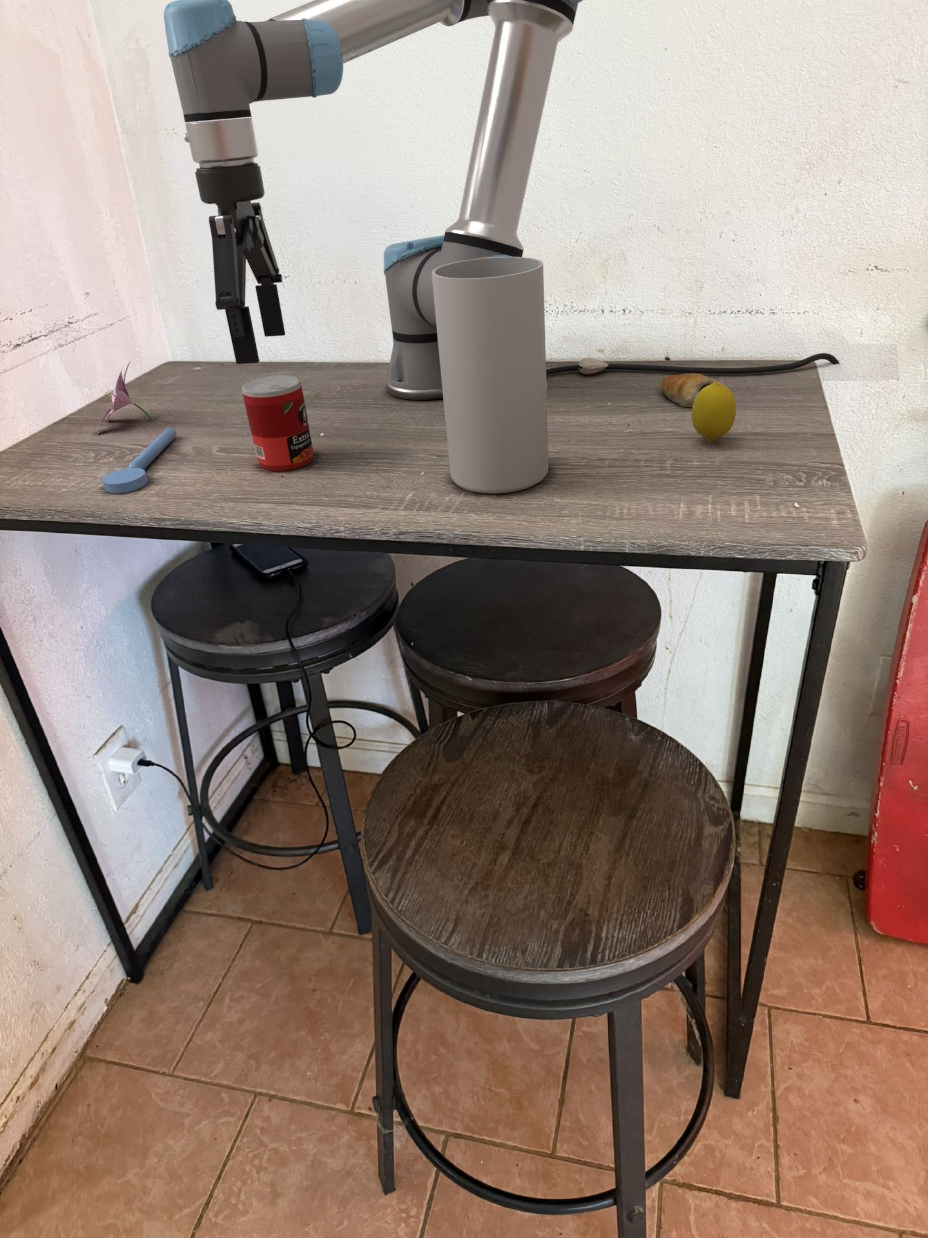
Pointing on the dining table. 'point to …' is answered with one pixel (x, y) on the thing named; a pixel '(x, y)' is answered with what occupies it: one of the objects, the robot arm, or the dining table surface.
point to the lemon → (714, 411)
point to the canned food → (278, 422)
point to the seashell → (591, 366)
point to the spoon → (137, 466)
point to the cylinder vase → (493, 371)
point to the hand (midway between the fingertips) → (262, 348)
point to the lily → (121, 396)
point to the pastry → (684, 387)
